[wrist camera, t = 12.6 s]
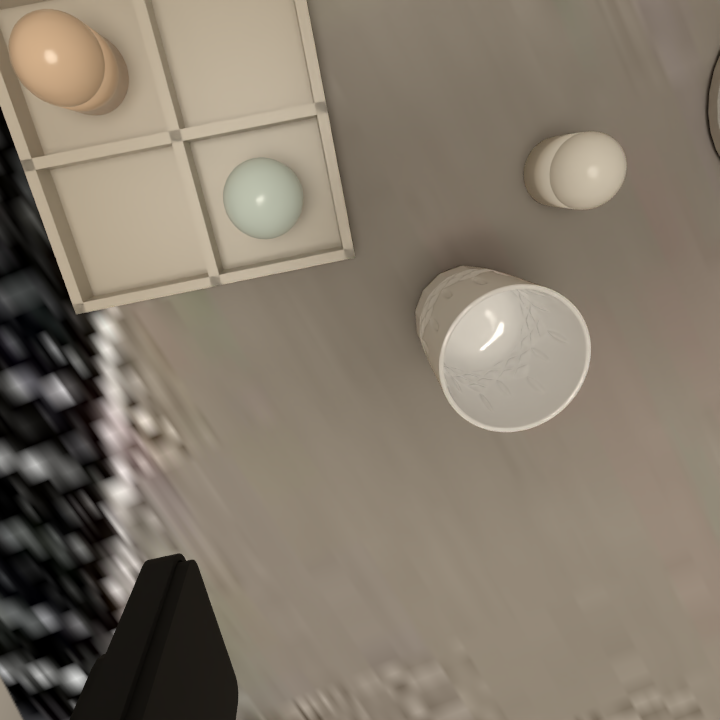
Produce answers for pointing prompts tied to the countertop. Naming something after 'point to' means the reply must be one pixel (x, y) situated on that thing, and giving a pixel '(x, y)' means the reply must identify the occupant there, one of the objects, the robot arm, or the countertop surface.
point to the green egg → (263, 198)
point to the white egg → (575, 170)
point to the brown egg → (67, 63)
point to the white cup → (502, 347)
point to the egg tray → (179, 148)
